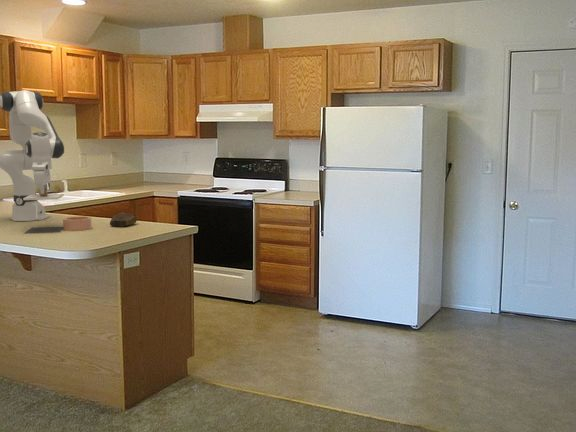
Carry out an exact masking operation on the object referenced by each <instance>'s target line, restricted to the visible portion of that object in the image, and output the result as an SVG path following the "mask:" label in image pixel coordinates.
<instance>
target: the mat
mask: <svg viewBox="0 0 576 432" xmlns="http://www.w3.org/2000/svg"><path fill="white" fill-rule="evenodd" d="M63 231H64V228H63V225H62V226H39V227H37V226H36V227H33V226H32V227H30V228H29V229H28V230H26V231H25V232H24V233H22V234H23V235H24V234H26V235H27V234H47V233H49V234H51V233H61V232H63Z"/></svg>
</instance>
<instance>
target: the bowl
mask: <svg viewBox="0 0 576 432" xmlns="http://www.w3.org/2000/svg"><path fill="white" fill-rule="evenodd" d="M92 221H93V220H92V217H91V216H86V215H85V216H83V215H82V216H78V215H77V216H68V217H64V218H62V222H63V223H62V226H63V228H64V229H63V231H66V232H67V231H68V232H81V231H82V232H83V231H90V230H91V229H93V224H92Z"/></svg>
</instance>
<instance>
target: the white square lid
mask: <svg viewBox="0 0 576 432" xmlns="http://www.w3.org/2000/svg"><path fill="white" fill-rule="evenodd" d="M44 190H45V193H44V194H41V192H40V191H39V193H38V194H37V195H29V196H27V197H25V198H23V200H37V201H39V200H40V201H42V200H43V201H44V200H45V201H48V200H53V201H54V200H59V199H61V198H62V197H64V193H49V192H48V187H47V188H44Z"/></svg>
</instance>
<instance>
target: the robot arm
mask: <svg viewBox="0 0 576 432" xmlns="http://www.w3.org/2000/svg"><path fill="white" fill-rule="evenodd" d="M43 106H44V98H43V96H42V94H41V93H40V92H37V91H30V90H27V89H23V90H20V91H19V90H17V91H15V90H14V91H4V92H1V93H0V108H1V110H3V111H5V112H9V114H8V115H9V118H8V125H9V138H10V140H11V141H12V142H13V143H16V144H18V145H20V146H21V148H22V150H21V149H20V150H19V149H18V150H16V149H15V150H13V149H12V150H6V151H1V152H0V169H1V170H3V171H4V172H6V173H7V175H8V176H9V177H10V179H11V181H12V186H13V195H12V198H13V202H14V203H13V204H12V209H11V213H12V215H11V217H10V220H11V221H14V222H31V221H42V220H45V219H47V218H49V217H50V216H51V215H50V214H47V213H46V208H45V206H44V205H43V204H42V203H40V201H39V200H23V198H25V197H27V196H29V195H37V194H36V187H39V193H40V192H41V194H44V193H45V190H44V188H47V189H48V184H50V183H51V171H50V170H51V169H52V168H53V167H52V165H53V164H52V159H59V158H61V157H62V156H63V155H64V153H65V145H64V142H63V141H62V140H61V138H60V137H59V135H58V133H57V131H56V129H55V126H54V125H53V123H52V121H51V119H50V118H49V116H48V115H46V114H44V113H43V112H42V111H41V110H42V109H43ZM32 127H33V128H38V129H41V130H42V131H44V132H41V131H40V132H38V131H37V132H33V133H32ZM27 170H31V171H32V172H33V173H32V174H33V177H30V176H27V175H25V174H24V173H23V171H27Z"/></svg>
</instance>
